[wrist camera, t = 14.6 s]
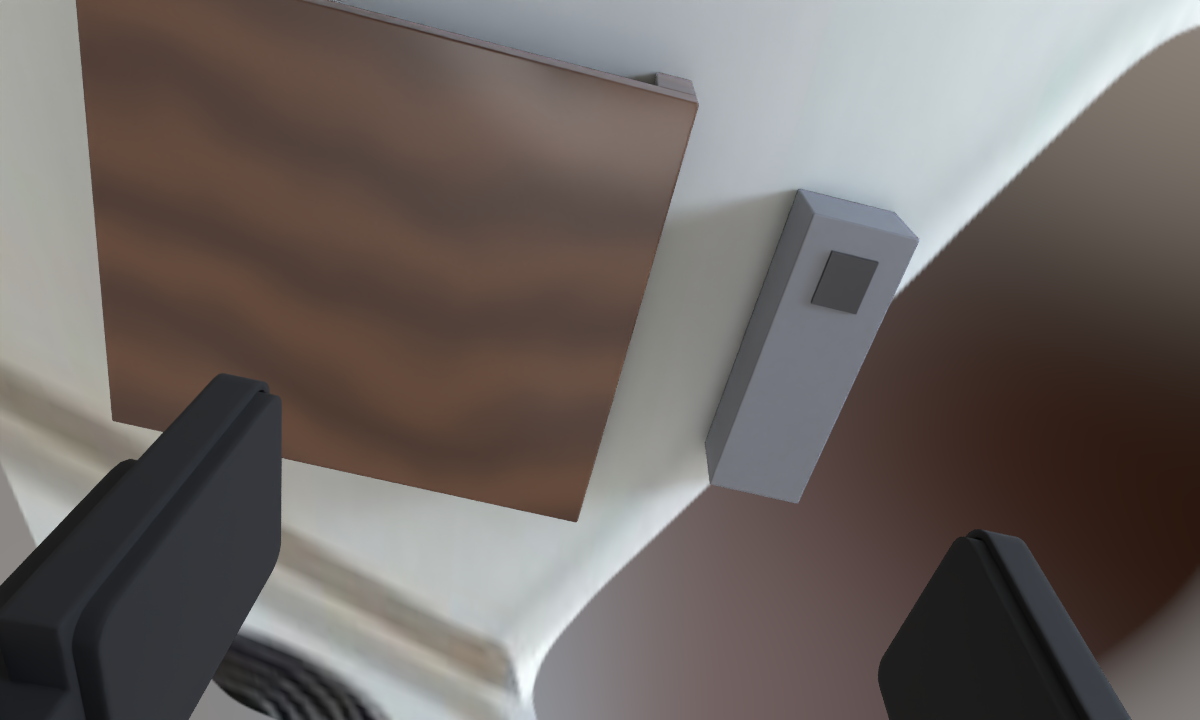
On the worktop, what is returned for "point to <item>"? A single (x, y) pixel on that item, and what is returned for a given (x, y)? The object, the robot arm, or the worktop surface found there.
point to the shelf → (375, 234)
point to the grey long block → (806, 343)
